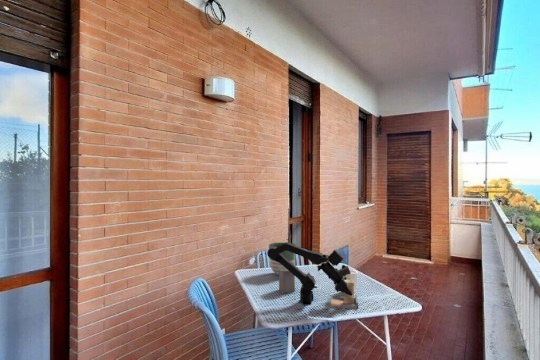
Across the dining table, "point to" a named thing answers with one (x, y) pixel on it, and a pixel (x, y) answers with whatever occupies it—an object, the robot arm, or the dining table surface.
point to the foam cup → (352, 277)
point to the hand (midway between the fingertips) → (351, 293)
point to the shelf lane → (342, 303)
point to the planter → (287, 254)
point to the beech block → (348, 298)
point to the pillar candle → (286, 281)
